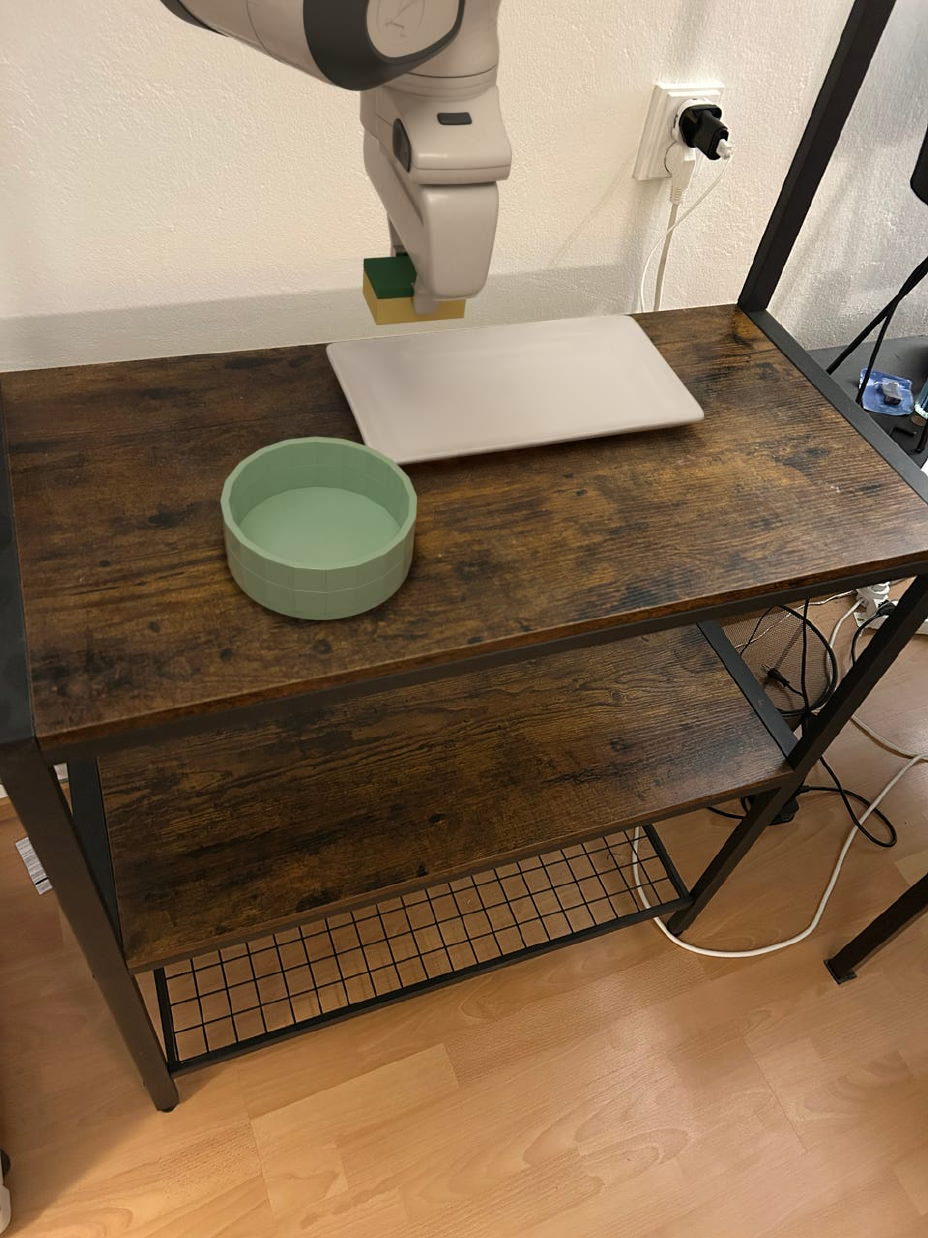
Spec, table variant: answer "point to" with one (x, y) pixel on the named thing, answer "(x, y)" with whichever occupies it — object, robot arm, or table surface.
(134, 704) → the table surface
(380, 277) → the sponge
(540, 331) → the tray
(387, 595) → the bowl
